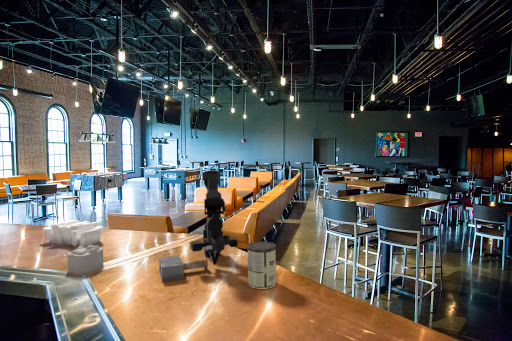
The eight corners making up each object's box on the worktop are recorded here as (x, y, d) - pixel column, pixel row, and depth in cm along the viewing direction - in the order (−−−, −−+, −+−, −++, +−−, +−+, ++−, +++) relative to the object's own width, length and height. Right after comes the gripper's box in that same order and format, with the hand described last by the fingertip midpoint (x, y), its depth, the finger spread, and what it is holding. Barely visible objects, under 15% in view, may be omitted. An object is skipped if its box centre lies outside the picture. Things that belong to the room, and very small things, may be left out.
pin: (205, 266, 130) (205, 255, 130) (207, 270, 126) (207, 259, 125) (172, 271, 125) (172, 259, 125) (174, 275, 121) (174, 263, 121)
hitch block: (179, 267, 130) (179, 255, 129) (183, 278, 119) (183, 264, 118) (158, 270, 127) (158, 257, 126) (161, 281, 116) (161, 267, 115)
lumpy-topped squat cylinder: (64, 271, 127) (63, 250, 126) (92, 261, 138) (92, 242, 138) (81, 275, 122) (81, 253, 122) (109, 264, 134) (109, 244, 134)
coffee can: (253, 277, 120) (252, 240, 119) (279, 280, 116) (279, 242, 116) (243, 287, 110) (242, 247, 109) (271, 291, 107) (271, 250, 106)
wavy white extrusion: (110, 242, 169) (110, 223, 168) (82, 251, 154) (81, 229, 153) (68, 235, 184) (68, 217, 183) (38, 242, 169) (38, 223, 168)
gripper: (195, 233, 117) (195, 274, 118) (242, 228, 124) (242, 267, 125) (189, 227, 128) (190, 265, 128) (233, 223, 135) (233, 259, 135)
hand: (214, 264), depth 129 cm, fingers closed
